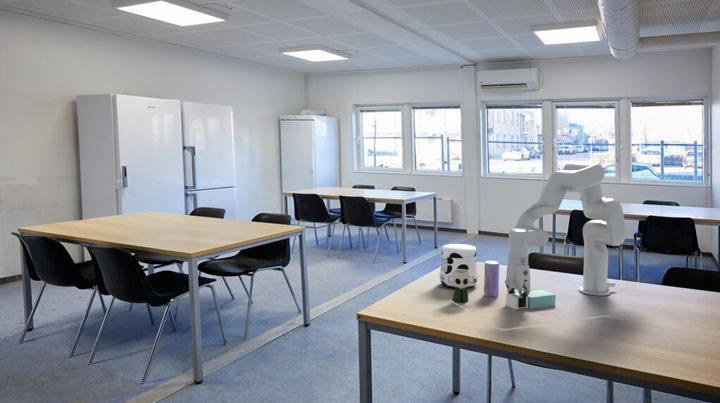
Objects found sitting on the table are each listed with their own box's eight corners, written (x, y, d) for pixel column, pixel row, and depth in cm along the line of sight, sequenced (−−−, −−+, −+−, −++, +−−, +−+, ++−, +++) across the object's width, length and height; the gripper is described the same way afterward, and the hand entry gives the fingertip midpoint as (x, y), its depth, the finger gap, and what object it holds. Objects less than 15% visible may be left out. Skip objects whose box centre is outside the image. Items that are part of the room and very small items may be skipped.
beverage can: (498, 298, 226) (499, 263, 224) (484, 298, 227) (484, 263, 225) (498, 294, 232) (498, 260, 230) (483, 294, 233) (484, 260, 231)
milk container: (483, 284, 249) (484, 246, 247) (469, 293, 235) (470, 252, 233) (448, 279, 258) (448, 242, 256) (433, 287, 244) (433, 248, 242)
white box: (518, 303, 217) (518, 292, 217) (527, 307, 212) (528, 296, 211) (505, 305, 215) (506, 294, 215) (514, 309, 210) (515, 298, 209)
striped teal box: (542, 300, 222) (542, 289, 222) (555, 305, 215) (555, 294, 214) (517, 303, 218) (517, 292, 218) (530, 308, 211) (530, 297, 210)
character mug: (448, 304, 219) (448, 272, 218) (446, 298, 226) (446, 268, 225) (475, 304, 218) (475, 273, 217) (472, 299, 225) (473, 269, 224)
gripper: (540, 264, 205) (538, 310, 207) (513, 255, 221) (511, 297, 223) (523, 265, 202) (522, 312, 204) (497, 256, 218) (496, 299, 220)
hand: (516, 304), depth 213 cm, fingers closed on white box, 6 cm apart
